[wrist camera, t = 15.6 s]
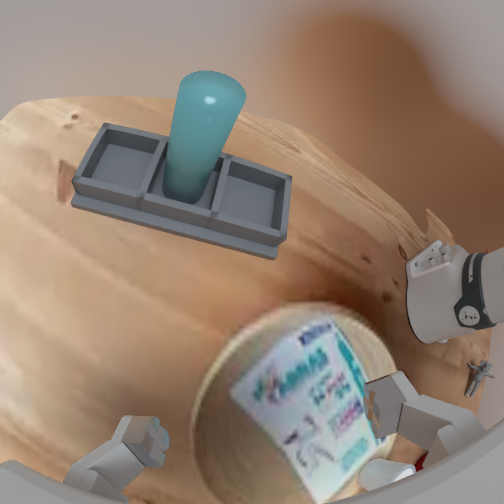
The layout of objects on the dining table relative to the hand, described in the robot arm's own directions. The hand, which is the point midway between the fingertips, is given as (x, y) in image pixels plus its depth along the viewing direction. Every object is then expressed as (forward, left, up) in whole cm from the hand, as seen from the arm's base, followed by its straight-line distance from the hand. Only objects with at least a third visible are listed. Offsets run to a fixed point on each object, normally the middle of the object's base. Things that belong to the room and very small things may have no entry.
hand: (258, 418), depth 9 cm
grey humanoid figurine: (-43, +47, -20) cm, 66 cm away
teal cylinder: (-10, -17, -18) cm, 27 cm away
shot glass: (-9, +33, -20) cm, 39 cm away
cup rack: (-10, -17, -19) cm, 28 cm away
